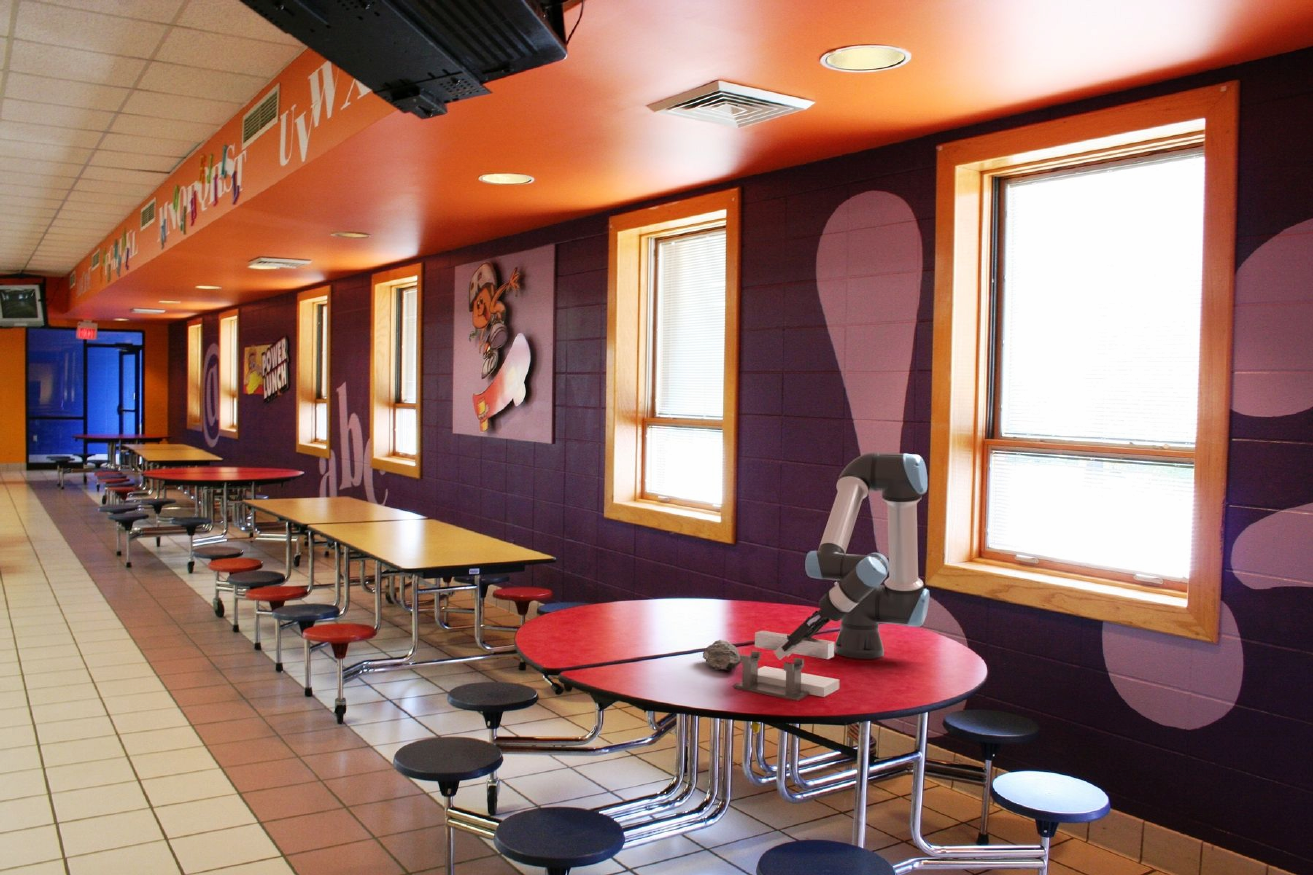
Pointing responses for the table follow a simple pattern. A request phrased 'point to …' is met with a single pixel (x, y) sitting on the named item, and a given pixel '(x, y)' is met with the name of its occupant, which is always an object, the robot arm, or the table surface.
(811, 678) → the board
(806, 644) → the rail
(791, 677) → the rack
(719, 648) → the rock
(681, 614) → the table surface
